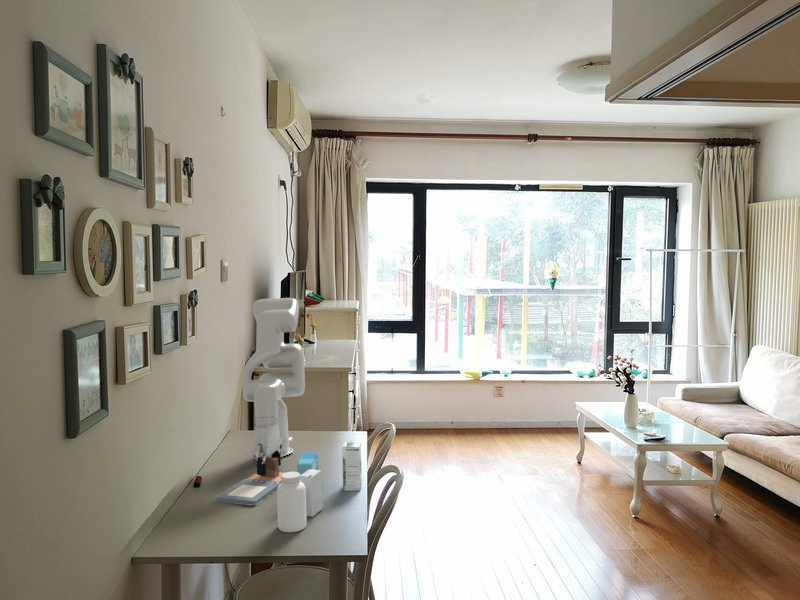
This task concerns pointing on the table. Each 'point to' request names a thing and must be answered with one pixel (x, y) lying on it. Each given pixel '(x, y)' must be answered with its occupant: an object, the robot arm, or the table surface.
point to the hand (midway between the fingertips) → (269, 469)
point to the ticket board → (248, 492)
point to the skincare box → (312, 491)
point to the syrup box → (352, 466)
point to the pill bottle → (291, 503)
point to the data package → (307, 462)
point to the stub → (270, 471)
